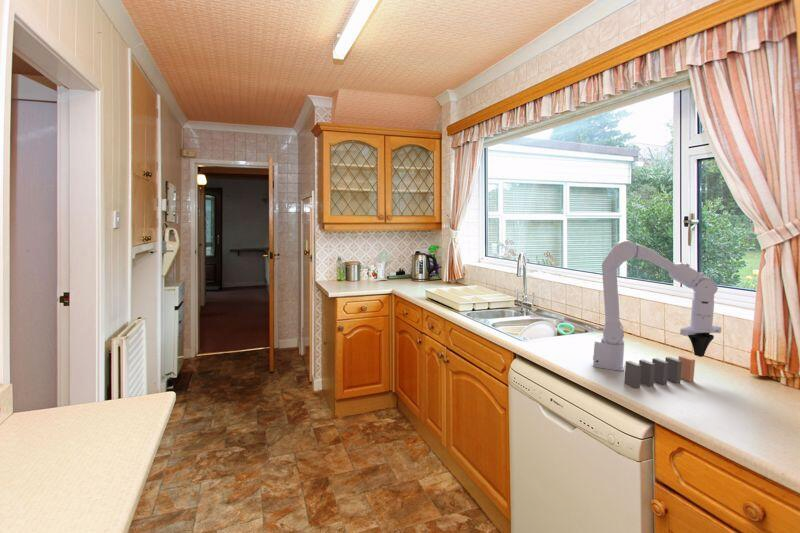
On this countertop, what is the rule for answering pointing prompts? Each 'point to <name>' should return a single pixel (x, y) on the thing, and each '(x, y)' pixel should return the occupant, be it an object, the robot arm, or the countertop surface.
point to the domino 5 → (687, 368)
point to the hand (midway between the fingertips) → (699, 355)
